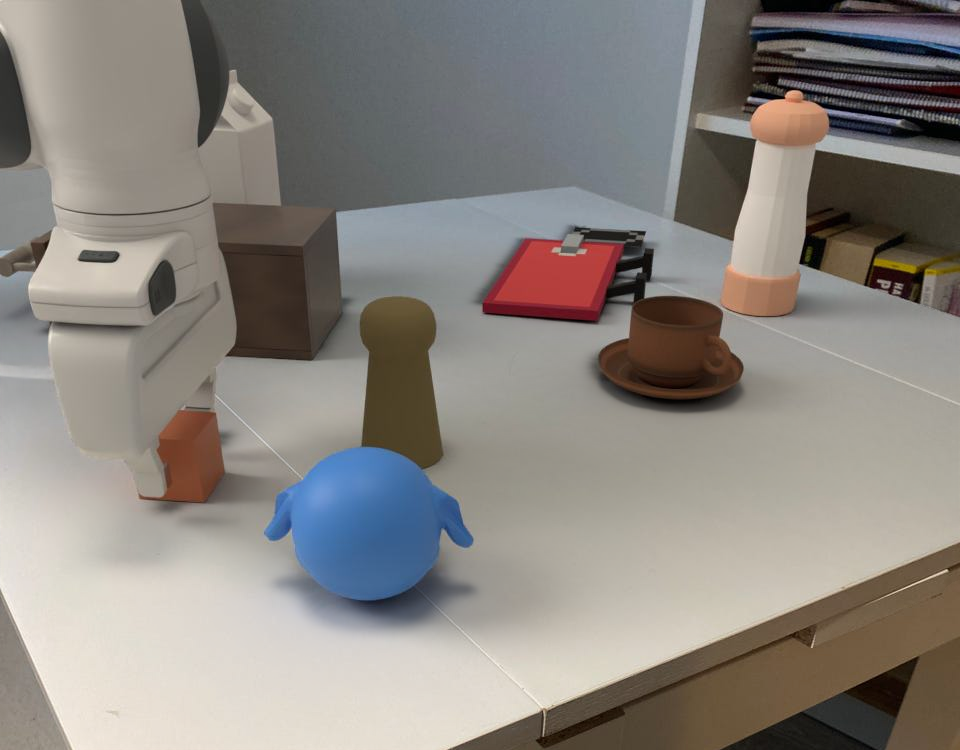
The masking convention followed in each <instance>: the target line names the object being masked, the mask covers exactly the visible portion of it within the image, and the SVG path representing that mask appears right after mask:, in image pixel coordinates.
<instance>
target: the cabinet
mask: <svg viewBox="0 0 960 750" xmlns="http://www.w3.org/2000/svg"><path fill="white" fill-rule="evenodd" d="M213 210H214V217H215V225H216V232H217V239H218V246H219V249H220V250H221V252H222V255H223V257H224V261H225V264H226V268H227V273H228V278H229V283H230V288H231V293H232V299H233V304H234V310H235V316H236V324H237V330H236V341H235V344H234V346H233V347H232V348H231V350H230V351H229V352H228V353H227V354H226V355H225V356H231V357H232V356H233V357H252V358H267V359H284V360H285V359H286V360H288V359H289V360H305V361H312V360H313V359H314V358H315V356H316V354H317V353H318V351H319V350H320V348H321V347H322V345H323V344H324V342H325V340H326V339H327V337H328V336H329V334H330V333H331V331H332V330H333V328H334V326H335V325H336V323H337V322H338V320H339V319H340V317H341V316H342V314H343V298H342V281H341V268H340V267H341V266H340V252H339V251H340V249H339V237H338V220H337V208H336V207H320V206H319V207H318V206H317V207H316V206H299V205H298V206H296V205H281V206H276V205H253V204H231V203H213Z"/></svg>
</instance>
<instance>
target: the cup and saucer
mask: <svg viewBox="0 0 960 750" xmlns="http://www.w3.org/2000/svg"><path fill="white" fill-rule="evenodd" d="M723 318H724V312H723V310H722V309H721V308H720V307H719V306H718V305H715V303H712V302H710V301H706V300H702V299H699V298H695V297H689V296H681V295H657V296H655V295H654V296H649V297H644V299H641V300H639V301H637V302H635V303H634V304H633V303H632V306H631V311H630V321H629V333H628V337H627V338H622V339H619V340H616V341H613V342H611V343H608V344H607V345H605V346H604V347H603V348H602V349H601V350H600V351H599V352H598V356H597V360H598V366H599V369H600V370H601V372H602V373H603V374H604V375H605V376H606V377H607V378H608V379H609V380H610V381H611V382H612V383H614V384H615V385H617V386H619V387H621V388H622V389H624V390H627V391H630V392H633V393H636V394H639V395H642V396H647V397H651V398H657V399H666V400H695V399H702V398H708V397H711V396H715V395H718V394H720V393H723V392H725V391H727V390H729V389H730V388H732V387H733V386H734V385H736V384H737V383H738V382H739V381H740V379H741V378H742V376H743V373H744V369H745V367H744V366H745V365H744V363H743V361H742V360H741V358H739V357H738V356H737V355H736V354H735V353H734V352H732V351H731V349H730V346H729V344H728V343H727V342H726V341H725V340H724V339H723V338H721V337H720V336H721V332H722V331H721V330H722V324H723Z"/></svg>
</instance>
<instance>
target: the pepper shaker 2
mask: <svg viewBox="0 0 960 750" xmlns="http://www.w3.org/2000/svg"><path fill="white" fill-rule="evenodd" d="M804 98H805V97H804V94H803V92H802V91H800V90H796V89H795V90H789V91H787V93H786V94H785V95H784V98H783V99H772V100H770V101H768V102H766V103H763V104H761V105H759V106H758V107H757V109H756V110H755V111H754V113H753V114H752V115H751V119H750V121H749V128H750V133H751V136H752V138H754V139H756V141H755V143H754V144H755V146H754V149H753V150H754V151H753V156H752V162H751V168H750V169H751V170H750V173H749V174H750V175H749V179H748V180H749V181H748V185H747V190H746V193H745V196H744V200H743V203H742V206H741V209H740V213H739V216H738V219H737V222H736V225H735V229H734V234H733V235H734V236H733V242H732V251H731V258H730V262H729V263H728V264H727V265H726V266H725V271H724V278H723V285H722V288H721V289H722V290H721V295H720V296H721V297H720V304H721V305H722V306H723V307H724V308H726V309H728V310H729V311H732V312H735V313H739V314H743V315H749V316H756V317H778V316H783V315H787V314H789V313H791V312H792V311H793V310H795V306H796V300H797V296H798V290H799V285H800V281H801V276H802V275H801V271H800V269H799V264H800V262H801V261H800V260H801V256H802V253H803V252H802V251H803V248H804V243H805V239H806V230H807V229H806V227H807V205H808V192H809V186H810V181H811V175H812V171H813V166H814V165H813V164H814V159H815V154H816V150H817V144H818V143H821V142H822V141H824V138H825V137H826V135H827V133H828V132H829V130H830V120H829V119H830V118H829V116H828V114H827V111H826V110H825V109H824V108H823V107H822V106H821V105H819V104H817V103H816V102H813V101H810V100H803V99H804Z"/></svg>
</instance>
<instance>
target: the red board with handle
mask: <svg viewBox="0 0 960 750" xmlns="http://www.w3.org/2000/svg"><path fill="white" fill-rule="evenodd" d="M646 233H647V230H633V229H632V230H631V229H615V228H614V229H612V228H596V227H581V226H580V227H579V226H575V227H574V229H573V231H572V232H571V233H567V234H566V236H565V238H564V240H563V239H560V240H559V239H544V238H527V237H526V238H524V239H523V241H522V243H521V244H520V246H519V247H518V248H517V250H516V252H515V253H514V255H513V256H512V257H511V259H510V260H509V262H508V264H507V265H506V267H505V268H504V270H503V271H502V273H500V276H499V277H498V279H497V280H496V282H495V283H494V285H493V286H492V288H491V289H490V291H489V292H488V294H487V295H486V297H485V298H484V300H483V301H482V306H481V307H482V313H485V314H487V313H488V314H498V315H510V316H511V315H513V316H525V317H526V316H527V317H537V318H538V317H540V318H553V319H569V320H581V321H593V322H594V321H595V322H598V320H599V318H600V316H601V313H602V310H603V308H604V304H605V301H606V299H612V298H616V297H622V296H627V295H631V294H633V301H632V302H633V303H632V305H633V304H634V303H635V302H637V301H639V300H641V299H644V298H646V286H647V284H646V283H647V282H651V278H652V273H653V264H654V252H655V248H650V247H645V248H644V250H643V255H641V256H636V257H631V258H626V259H622V257H623V254H624V250H625V249H624V248H625V247H634V248H641V247H642V246H643V243H644V240H645V236H646ZM638 269H641V271H640V272H639V271H638V272H637V273H636V275H635V278H634V280H631V281H625V282H621V283H616V284H613V281H614V278H615V275H616V274H618V273H624V272H627V271H633V270H638Z"/></svg>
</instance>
